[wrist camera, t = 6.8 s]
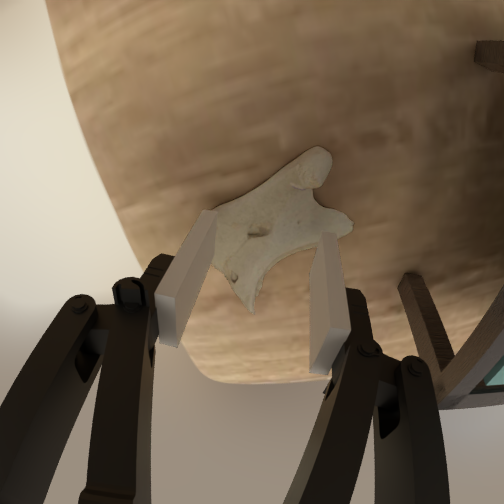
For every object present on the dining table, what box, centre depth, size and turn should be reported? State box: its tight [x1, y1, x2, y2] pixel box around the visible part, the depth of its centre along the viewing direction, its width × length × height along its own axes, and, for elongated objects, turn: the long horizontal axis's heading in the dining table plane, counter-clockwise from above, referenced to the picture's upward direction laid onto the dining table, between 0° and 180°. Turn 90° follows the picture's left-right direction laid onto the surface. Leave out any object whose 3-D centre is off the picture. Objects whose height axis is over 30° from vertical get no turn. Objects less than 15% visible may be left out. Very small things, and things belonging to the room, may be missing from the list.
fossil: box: [211, 146, 354, 315], centre depth 19 cm, size 7×11×3 cm, turn 132°
